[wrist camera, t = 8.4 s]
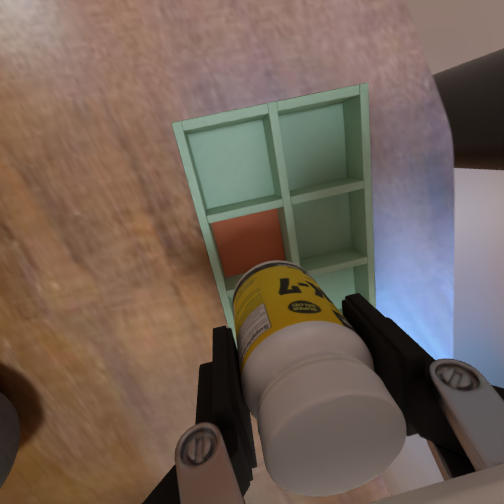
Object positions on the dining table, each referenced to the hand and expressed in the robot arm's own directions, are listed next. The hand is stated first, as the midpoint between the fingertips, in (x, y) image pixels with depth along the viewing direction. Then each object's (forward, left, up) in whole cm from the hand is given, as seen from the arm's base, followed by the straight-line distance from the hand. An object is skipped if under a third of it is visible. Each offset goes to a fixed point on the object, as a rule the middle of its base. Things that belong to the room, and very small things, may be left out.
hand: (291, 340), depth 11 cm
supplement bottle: (0, 0, -4) cm, 4 cm away
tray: (-4, 0, -16) cm, 17 cm away
